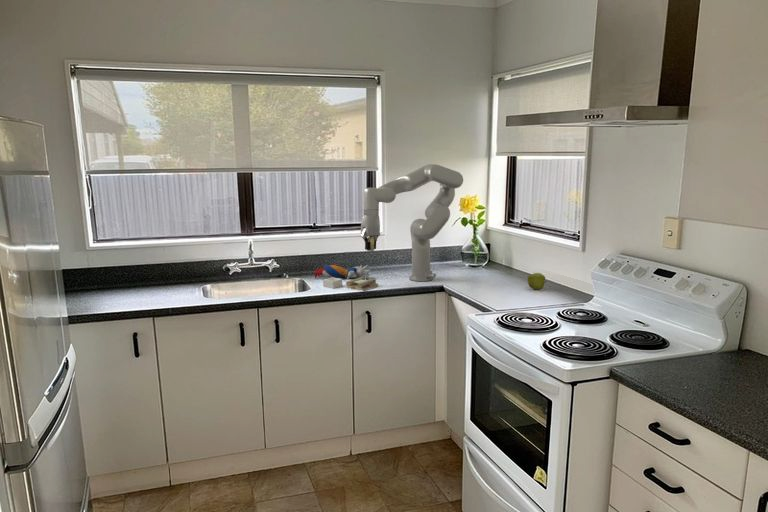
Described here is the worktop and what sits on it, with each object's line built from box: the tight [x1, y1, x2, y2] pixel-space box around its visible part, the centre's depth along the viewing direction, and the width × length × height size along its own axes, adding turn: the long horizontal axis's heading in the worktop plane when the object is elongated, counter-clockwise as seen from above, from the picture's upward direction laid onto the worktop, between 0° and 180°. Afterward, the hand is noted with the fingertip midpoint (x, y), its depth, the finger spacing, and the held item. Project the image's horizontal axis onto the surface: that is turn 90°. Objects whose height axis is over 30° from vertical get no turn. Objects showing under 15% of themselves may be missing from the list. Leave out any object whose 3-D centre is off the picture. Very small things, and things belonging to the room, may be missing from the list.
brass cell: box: [366, 236, 375, 252], centre depth 284 cm, size 4×4×8 cm
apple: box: [527, 272, 548, 291], centre depth 270 cm, size 8×9×8 cm
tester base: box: [345, 277, 379, 291], centre depth 281 cm, size 10×12×3 cm
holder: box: [322, 276, 343, 289], centre depth 283 cm, size 7×7×4 cm
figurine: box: [314, 264, 371, 280], centre depth 301 cm, size 27×9×30 cm
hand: (370, 248), depth 284 cm, fingers closed on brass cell, 3 cm apart
